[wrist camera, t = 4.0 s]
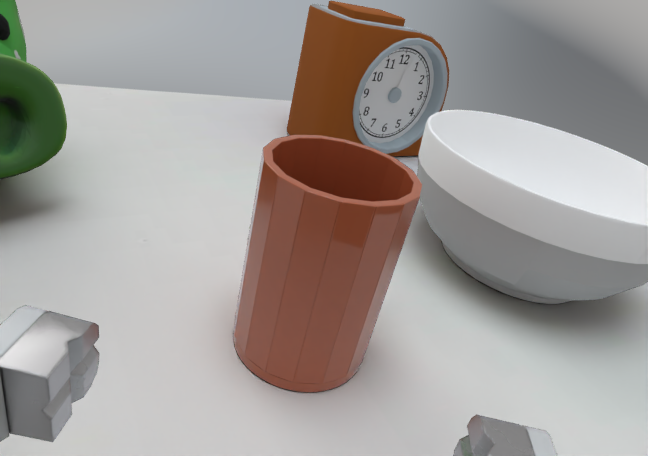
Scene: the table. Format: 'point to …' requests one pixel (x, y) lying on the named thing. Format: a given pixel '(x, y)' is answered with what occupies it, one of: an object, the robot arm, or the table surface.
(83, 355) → the robot arm
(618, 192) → the bowl
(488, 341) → the table surface
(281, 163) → the cup
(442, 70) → the alarm clock
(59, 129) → the piggy bank
